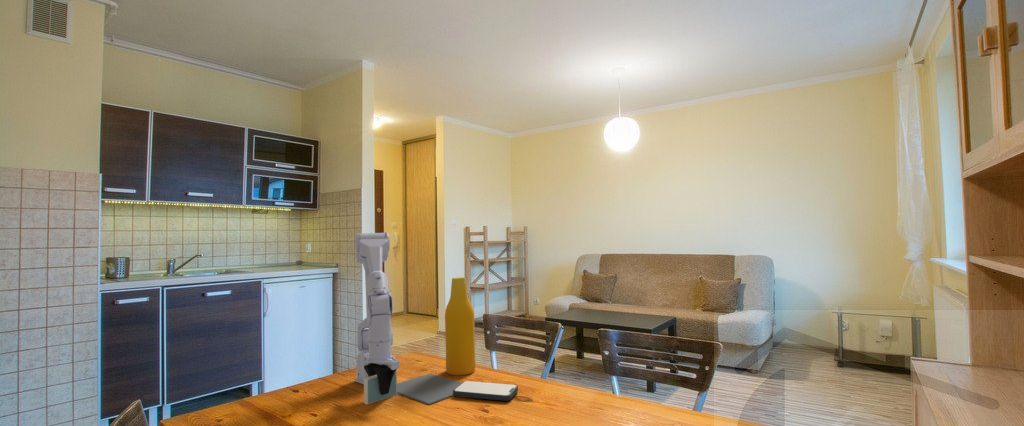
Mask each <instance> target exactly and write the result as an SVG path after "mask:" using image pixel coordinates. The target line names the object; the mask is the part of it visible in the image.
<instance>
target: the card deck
mask: <svg viewBox="0 0 1024 426" xmlns="http://www.w3.org/2000/svg"><path fill="white" fill-rule="evenodd" d="M397 377H398V374H397V370H396V371H395V373H394V375H393V378H392V381H391V385H390V389H389V393H388V394H384V395H381V394H380V390H379V381H378V377H377V375H373V376H370V377H366V378H364V384H363V404H365V405H370V404H373V403H376V402H380V401H382V400H385V399H388V398H392V397H393V396H397V395H398V393H397V383H398V381H397V380H398V379H397Z"/></svg>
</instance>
